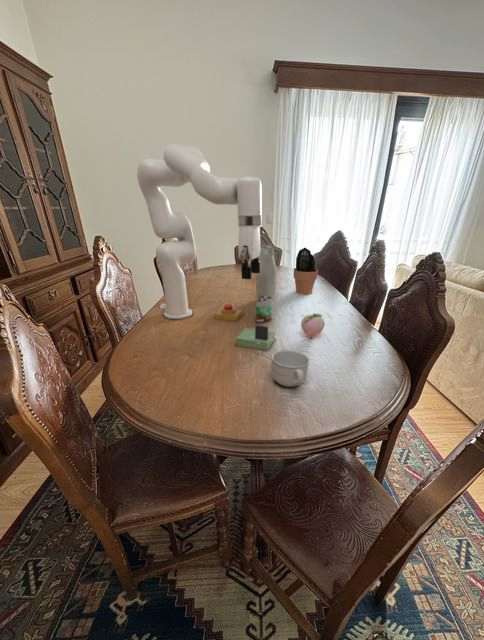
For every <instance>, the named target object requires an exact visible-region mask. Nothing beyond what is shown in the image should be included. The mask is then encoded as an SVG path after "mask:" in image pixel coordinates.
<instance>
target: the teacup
mask: <svg viewBox="0 0 484 640" xmlns="http://www.w3.org/2000/svg"><path fill="white" fill-rule="evenodd" d="M309 364H310V358H309V357H308V356H307V355H306V354H305V353H302V352H301V351H298V350H297V351H296V350H291V349H283V350H277V351H275V352H273V354H271V364H270V365H271V366H270V374H271V377H272V378H273V380H274V381H275V382H277V384H279V385H281V386H283V387H288V388H291V387H296V386H299V385H302V384H303V383H304V381H306V378H307V375H308V370H309Z"/></svg>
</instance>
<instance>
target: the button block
mask: <svg viewBox="0 0 484 640" xmlns="http://www.w3.org/2000/svg"><path fill="white" fill-rule="evenodd" d="M242 316H243V310H240V309H237V308H236V306H233V305H232V310H225V309H224V306H222V307H221V308H220V309H219V310H217V312H215V313H214V319H218V320H224V321H232V322H236V321H238V320H239V319H240V318H241V317H242Z"/></svg>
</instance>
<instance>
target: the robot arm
mask: <svg viewBox="0 0 484 640" xmlns="http://www.w3.org/2000/svg"><path fill="white" fill-rule="evenodd" d="M136 172H137V175H136V176H137V182H138V186H139V188H140V191H141V193H142V195H143V197H144V199H145V202H146V206H147V211H148V215H149V218H150V221H151V222H150V223H151V225H152V229H153V232H154V234H155V236H156V237H157V238H160V239H172V238H173V239H174V238H175V239H176V240H171V241H165V242H161V243H160V244H158V245H157V246H156V249H155V255H156V259H157V262H158V266H159V268H160V274H161V279H162V280H161V281H162V286H163V293H164V298H165V299H164V300H165V303H160V306H159V309H160V310H164V312H163V315H164V317H165V318H167V319H169V320H181V319H182V320H183V319H187V318H189V317H191V316H192V315H193V310H192V309H191V308H189V302H188V301H189V300H188V291H187V284H186V276H185V273H184V271H183V269H182V268H181V267H180V265H184V264H189V263H192V262H194V261H195V260H196V258H197V247H196V242H195V237H194V233H193V228H192V224H191V221H190V219H189V218H188V217H187V215H185V214H184V213H183V212H173V211H172V209H171V205H170V200H169V199H168V197H167V195H166V193H165V192H164V191H163V190H162V189H161V188H160V187H169V188H170V187H171V188H180V187H183V186H185V185H186V184H188V183H190V184H191V186H192V188H193V190H194V191H195V193H196V194H197V195H199V196H200V197H202V198H203V199H204V200H206V201H207V202H209V203H212V204H214V205H220V206H221V205H233V206H235V205H236V206H237V224H238V225H237V227H238V242H237V243H238V245H237V247H238V249H237V250H238V259H239V261H240V267H241V279H242V280H251V279H252V274H256V273H260V262H258V261H260V257H259V256H260V247H261V231H260V228H262V226H263V222H262V221H263V220H262V219H263V217H262V215H263V214H262V210H263V209H262V206H263V205H262V181H261V179H260V178H259V177H256V176H242V177H239V178H237V177H236V178H235V177H228V176H227V177H226V176H217V175H215V174H213V173H212V172H211V167H210V164H209V162H208V161H207V160H206V158H205V157H204V154H203V152H202V151H201V150H200V149H198V148H197V147H195V146H191V145H186V144H181V143H171V144H168V145H167V146H166V147H165V149H164V151H163V159H160V158H159V159H158V158H147V159H146V158H145V159H143V160H141V161H140V162H139V164H138V166H137V171H136Z"/></svg>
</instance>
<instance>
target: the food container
mask: <svg viewBox="0 0 484 640" xmlns="http://www.w3.org/2000/svg"><path fill="white" fill-rule="evenodd" d="M273 299H274V298H273ZM273 299H272V297H271V296H269V295H266V294H262V296H261V298H260V299H259V298H258V300H257V301H255V311H256V313H255V314H256V315H255V317H256V324H265V323H268V322H270V321H271V313H272V312H271V311H272V305H273V303H274V300H273Z"/></svg>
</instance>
